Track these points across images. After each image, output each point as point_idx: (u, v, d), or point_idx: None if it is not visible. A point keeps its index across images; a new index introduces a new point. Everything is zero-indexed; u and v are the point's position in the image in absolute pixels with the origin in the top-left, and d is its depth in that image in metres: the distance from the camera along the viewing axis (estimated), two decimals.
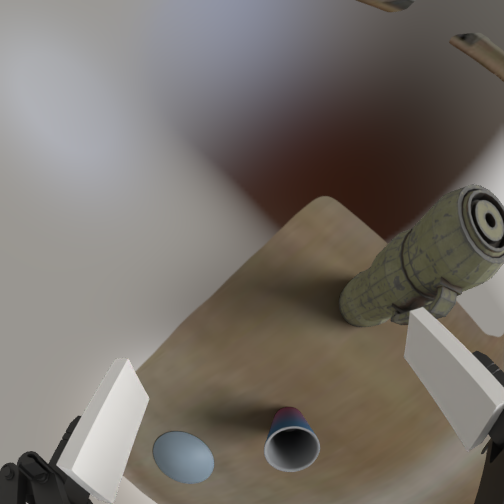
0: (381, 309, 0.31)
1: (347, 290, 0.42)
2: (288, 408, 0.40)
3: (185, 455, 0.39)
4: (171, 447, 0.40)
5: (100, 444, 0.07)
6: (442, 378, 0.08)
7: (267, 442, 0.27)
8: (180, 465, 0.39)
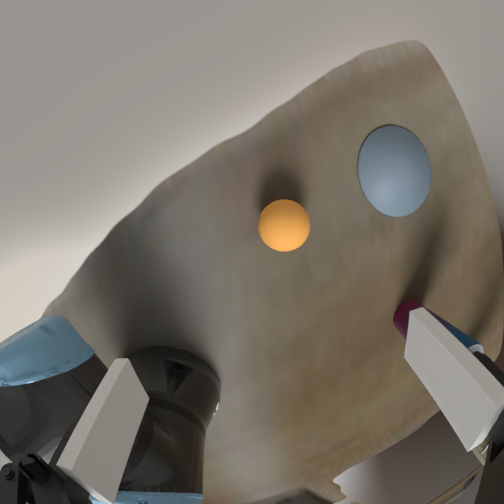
0: None
1: None
2: None
3: (402, 178, 0.31)
4: (413, 161, 0.31)
5: (100, 444, 0.07)
6: (442, 378, 0.08)
7: (480, 346, 0.22)
8: (388, 162, 0.31)
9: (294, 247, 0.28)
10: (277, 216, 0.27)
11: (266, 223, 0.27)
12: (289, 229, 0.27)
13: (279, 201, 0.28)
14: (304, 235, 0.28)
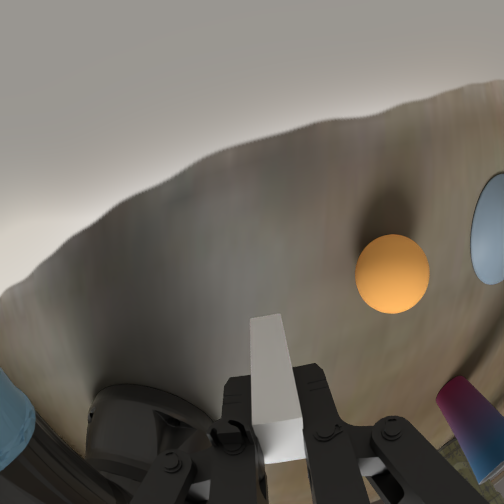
0: None
1: None
2: None
3: None
4: None
5: None
6: None
7: None
8: (499, 218, 0.19)
9: (401, 311, 0.17)
10: (402, 264, 0.15)
11: (382, 270, 0.16)
12: (412, 288, 0.15)
13: (402, 239, 0.16)
14: None
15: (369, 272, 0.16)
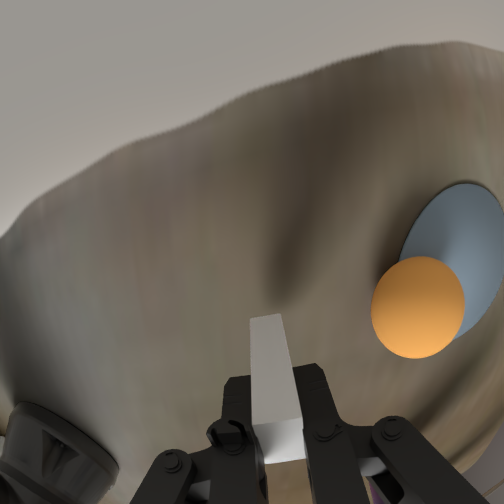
0: None
1: None
2: None
3: (464, 284, 0.15)
4: (488, 258, 0.15)
5: None
6: None
7: None
8: (454, 254, 0.15)
9: None
10: None
11: None
12: None
13: (407, 264, 0.12)
14: (376, 333, 0.14)
15: None
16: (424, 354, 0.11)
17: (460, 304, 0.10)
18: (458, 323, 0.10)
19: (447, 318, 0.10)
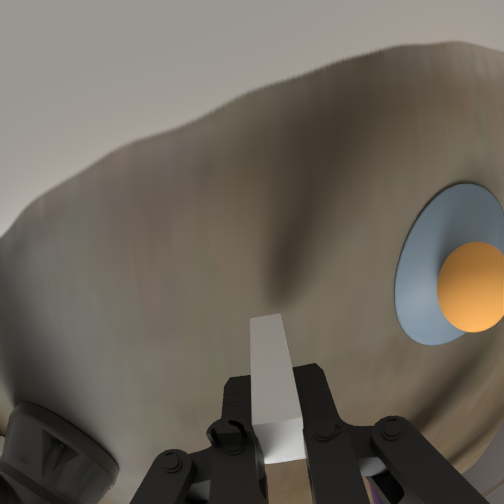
0: None
1: None
2: None
3: None
4: None
5: None
6: None
7: None
8: None
9: (471, 331, 0.12)
10: (477, 278, 0.11)
11: (455, 278, 0.12)
12: (481, 309, 0.10)
13: (488, 249, 0.11)
14: (493, 323, 0.11)
15: (445, 277, 0.13)
16: None
17: None
18: None
19: None
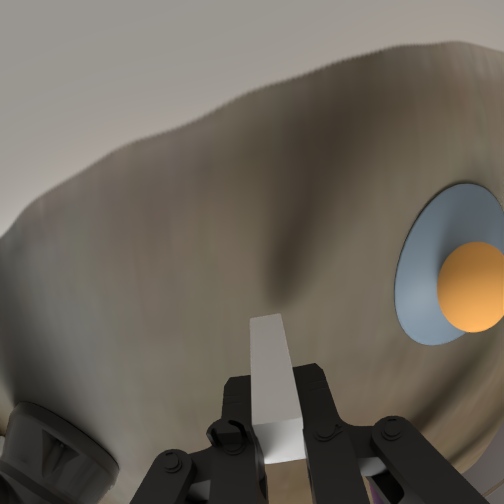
0: None
1: None
2: None
3: None
4: None
5: None
6: None
7: None
8: None
9: (471, 331, 0.12)
10: (477, 278, 0.11)
11: (455, 278, 0.12)
12: (481, 309, 0.10)
13: (488, 249, 0.11)
14: (493, 323, 0.11)
15: (445, 277, 0.13)
16: None
17: None
18: None
19: None
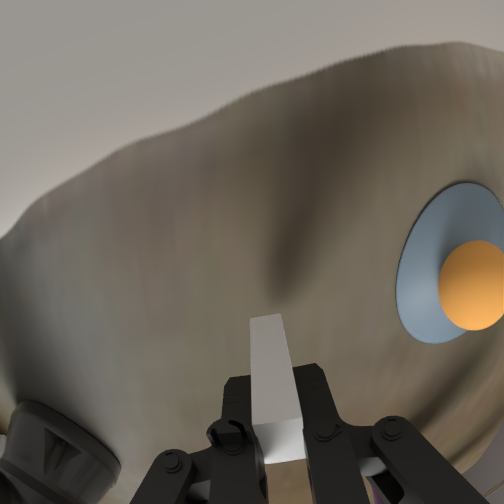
0: None
1: None
2: None
3: None
4: None
5: None
6: None
7: None
8: None
9: (471, 329, 0.12)
10: (477, 276, 0.11)
11: (456, 277, 0.12)
12: (482, 307, 0.11)
13: (489, 248, 0.11)
14: (493, 321, 0.11)
15: (446, 276, 0.13)
16: None
17: None
18: None
19: None
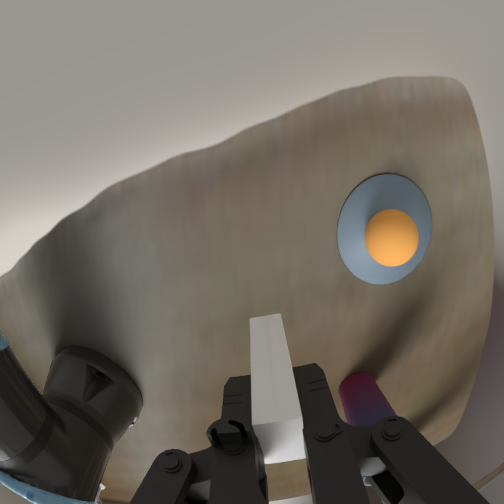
0: None
1: None
2: None
3: None
4: None
5: None
6: None
7: None
8: None
9: (389, 265, 0.24)
10: (383, 227, 0.22)
11: (371, 229, 0.24)
12: (388, 246, 0.22)
13: (394, 212, 0.23)
14: (402, 258, 0.22)
15: (366, 230, 0.24)
16: None
17: None
18: None
19: None
